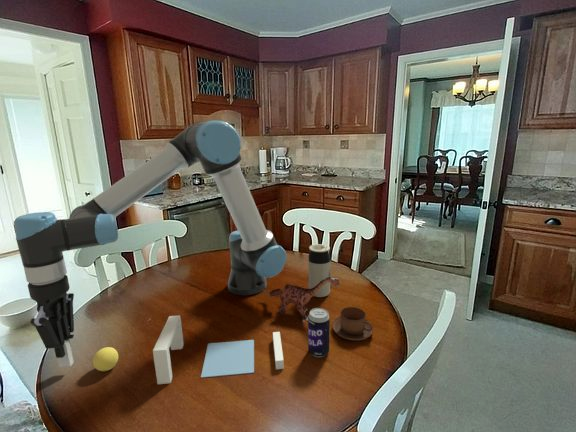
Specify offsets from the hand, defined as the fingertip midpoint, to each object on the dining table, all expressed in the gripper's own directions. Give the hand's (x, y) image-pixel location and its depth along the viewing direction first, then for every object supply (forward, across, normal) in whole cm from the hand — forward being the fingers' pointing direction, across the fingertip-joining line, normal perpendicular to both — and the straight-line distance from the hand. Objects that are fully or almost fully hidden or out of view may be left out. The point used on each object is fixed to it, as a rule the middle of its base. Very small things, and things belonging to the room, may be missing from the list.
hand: (66, 364), depth 79 cm
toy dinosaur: (+2, -20, +61) cm, 65 cm away
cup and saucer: (+2, -7, +76) cm, 77 cm away
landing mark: (+2, 0, +41) cm, 41 cm away
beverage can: (+2, +1, +65) cm, 65 cm away
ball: (-1, 0, +10) cm, 10 cm away
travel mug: (+2, -32, +72) cm, 78 cm away
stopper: (+2, 0, +54) cm, 54 cm away
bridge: (+2, 0, +26) cm, 26 cm away
